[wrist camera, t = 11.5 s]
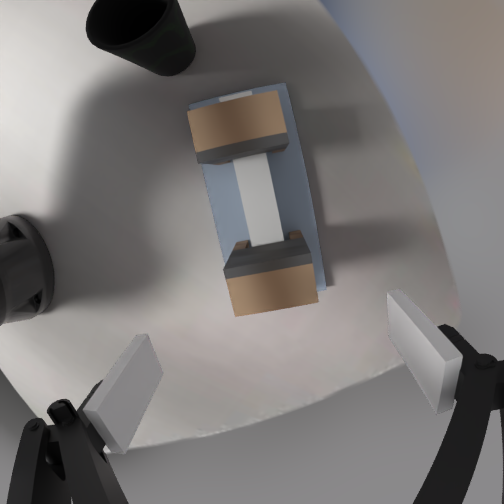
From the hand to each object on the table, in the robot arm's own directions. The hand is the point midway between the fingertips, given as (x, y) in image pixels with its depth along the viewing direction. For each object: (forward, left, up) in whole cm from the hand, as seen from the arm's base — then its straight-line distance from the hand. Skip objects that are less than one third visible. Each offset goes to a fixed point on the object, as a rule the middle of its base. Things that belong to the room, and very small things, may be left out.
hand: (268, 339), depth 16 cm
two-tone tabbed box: (0, 0, -17) cm, 17 cm away
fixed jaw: (0, +12, -17) cm, 21 cm away
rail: (0, +6, -18) cm, 19 cm away
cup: (-6, +24, -18) cm, 31 cm away
